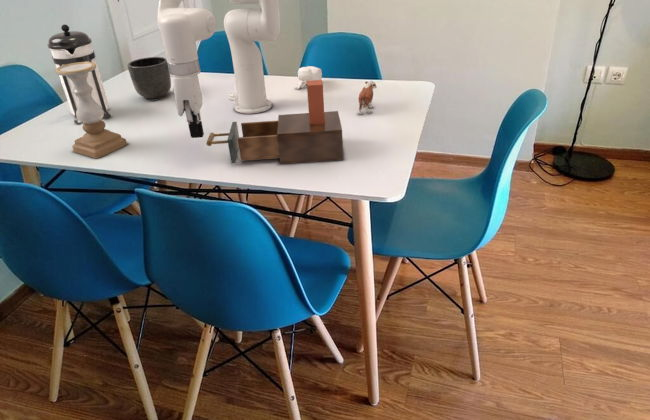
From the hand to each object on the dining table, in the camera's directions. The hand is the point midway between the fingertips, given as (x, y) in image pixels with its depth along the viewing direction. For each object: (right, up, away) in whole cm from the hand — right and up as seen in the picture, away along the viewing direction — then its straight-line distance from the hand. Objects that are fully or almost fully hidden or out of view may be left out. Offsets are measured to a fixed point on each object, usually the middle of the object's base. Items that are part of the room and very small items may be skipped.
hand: (197, 136), depth 132 cm
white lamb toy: (+28, +26, +53) cm, 65 cm away
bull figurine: (+48, +13, +30) cm, 58 cm away
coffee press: (-46, +13, +38) cm, 61 cm away
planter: (-29, +22, +52) cm, 63 cm away
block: (+32, +4, 0) cm, 32 cm away
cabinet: (+30, -4, +4) cm, 31 cm away
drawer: (+14, -4, +4) cm, 15 cm away
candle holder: (-32, -2, +13) cm, 35 cm away
